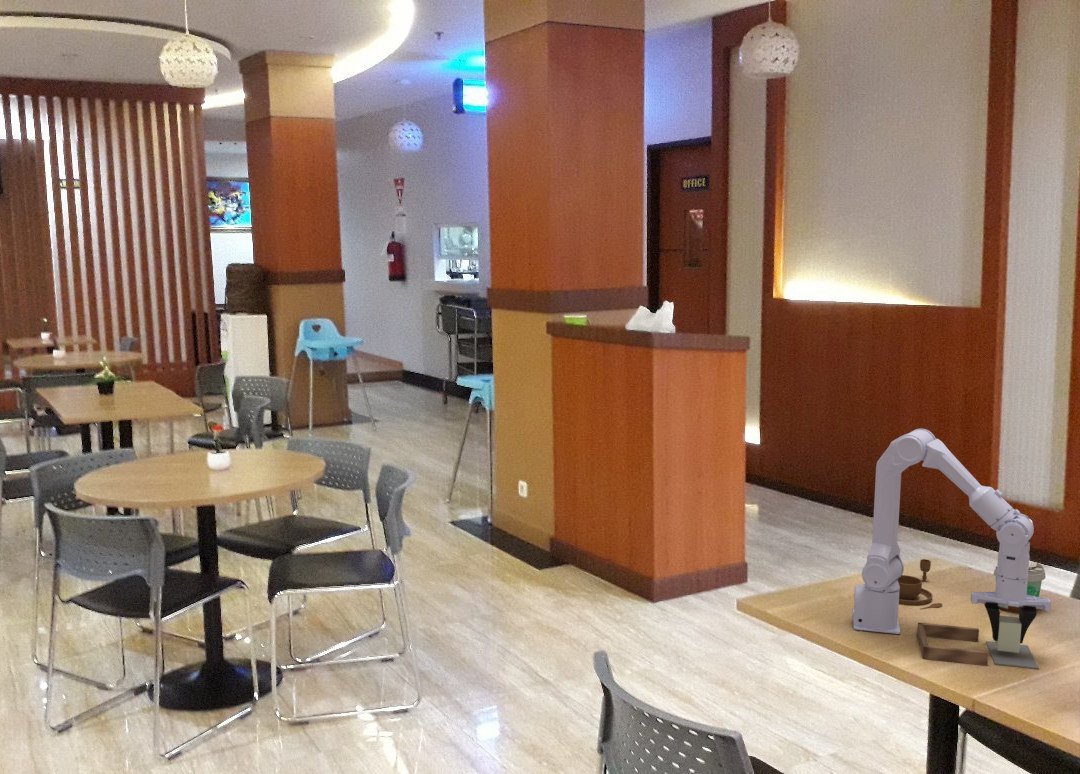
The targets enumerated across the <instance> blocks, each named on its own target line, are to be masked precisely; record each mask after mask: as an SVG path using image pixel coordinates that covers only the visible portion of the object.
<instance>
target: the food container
mask: <svg viewBox="0 0 1080 774" xmlns="http://www.w3.org/2000/svg"><path fill="white" fill-rule="evenodd" d="M992 575H993V576H994V577H996V576H997V566H995V569H994V571H993V574H992ZM1045 579H1046V570H1045V569H1044V565H1043V564H1041V563H1039V562H1036V566H1029V571H1028V583H1027V595H1029V596H1035V597H1040V593H1041V587H1042V581H1043V580H1045ZM998 606H999V611H1003V612H1006V613H1011V614H1018V615H1019V607H1015V606H1004V605H998ZM1037 611H1038V610H1037V609H1036V612H1037Z"/></svg>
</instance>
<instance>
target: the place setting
mask: <svg viewBox="0 0 1080 774" xmlns="http://www.w3.org/2000/svg"><path fill="white" fill-rule="evenodd" d="M931 565H932V561H931V560H930V559H925V558H922V559H920V561H919V569H920V571H921V572H922V577H921V579H922V580H921V579H920V578H918V577H915V576H913V575H906V574H902V575H901V577H900V578H898V583H899V586H900V591H899V605H903V604H904V606H924V605H928V604H929V603H931V602H932V600H933V597H934V596H933V593H932V592H931V591H929V590H928V589H925V588H923V587H922V586H923V585H922V584H923V583H924V582H926V583H927V581H926V580H927V579H928V576H927V573H928V572H930V570H931ZM920 595H922V596H924V597H926V598H927V599H920V600H913V599H915V598H916V597H919V596H920ZM942 606H943V603H941V602H936V603H932V604H930V605H929V606H926V607H921V608H920V610H926V609H931V608H932V609H937V608H940V607H942Z"/></svg>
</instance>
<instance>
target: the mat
mask: <svg viewBox="0 0 1080 774" xmlns="http://www.w3.org/2000/svg"><path fill="white" fill-rule="evenodd" d="M985 643H986V646H987V649H988V651H989V654H990V656H991V658H992V661H993V664H994V666H995V665H996V666H997V665H998V666H1002V667H1003V666H1006V667H1015V668H1022V669H1033V670H1040V667H1039V665H1038V663H1037V661H1036V659H1035V657H1034V654H1033V653H1032V651H1031V649H1030V647H1029V645H1028V644H1020V650H1019V653H1017V652H1007V651H998V650H997V648H996V645H995V641H989V640H985Z"/></svg>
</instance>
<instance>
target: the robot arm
mask: <svg viewBox="0 0 1080 774" xmlns="http://www.w3.org/2000/svg"><path fill="white" fill-rule="evenodd" d="M921 461H922V462H923V463H922V465H921V466H922V467H924V468H929V469H934V470H935V469H936V470H939V471H940V472H941V473H942V474H943V475H945V477H947V478H948V479H949V480H950V481H951V482H952V483H954V485H955V486H956V487H958V488H959V489H960V490H961V491H962V493H964V494H965V495H966V496H968V501H969V503H968V505H969V507H970V508H971V509H972V510H973V512H975V513H976V514H977V515H978V516H979V517H980V518H981V519H982V520H983V521H984V522H985V523H986V524H987V525H988V527H990V528H991V529H992V530H994V531H996V532H995V533H996V539H997V541H998V542H999V547H998V548H999V550H998V552H997V553H998V554H997V563H996V565H997V576H995V591H971V592H970V602H971V604H974V605H978V604H984V607H985V610H986V613H987V616H988V619H989V622H990V627H991V632H992V633H991V634H992V639H993V642H995V641H998V624H999V617H1000V615H1001V610H1000V609H999V606H998V605H1004V606H1015V607H1019V614H1018V618H1019V620H1020V622H1021V637H1020V644H1023V643H1024V638H1025V636H1026V633H1027V631H1028V630H1029V627H1030V626H1031V624H1032V622H1033V621H1034V620H1035V618H1037V614H1038V613H1037V611H1036V609H1040V610H1043V611H1047V612H1050V611H1051V606H1052V602H1051V600H1050V599H1049V598H1046V597H1040V596H1039V597H1035V596H1029V595H1027V583H1028V571H1029V567H1030V557H1031V556H1030V550H1031V549H1030V548H1031V547H1030V546H1031V545H1030V544H1031V542H1030V541H1029V540H1031V538H1032V537H1033V535H1034V530H1035V528H1034V524H1033V522H1032V521H1031V520H1030V517H1029V516H1028V515H1026V514H1024V513H1021V512H1020V510H1018V509H1017V508H1015V509H1014V508H1013V506H1011V505H1010V504H1009V502H1007V501H1006V500H1005V499H1004V498H1003V497H1002V495H1003V492H1002V491H1001V490H999V489H996V490H995V489H994V488H993V487H992V486H985V485H981V484H980V483H979V481H978V480H977V479H976V478H975V477H974V476H973V474H971V472H969V470H968V469H967V468H966V467H965V466H964V465H963V464H962V463H961V461H959V459H958V458H956V456H955V455H954V454H953V453H952V451H950V450H949V449H948V447H947V446H946V444H944V442H943V441H942V440H940V439H939V438H936V437H935V434H933V432H931V431H930V430H929V429H925V428H917V429H914V430H912V431H910V432H908V433H905V434H903V435H901V436H898V437H897V438H896V439H894V440H892V441H891V442H890V444H889V446H888V447H887V449H886V450H885V451H884V452H883V453H882V455H881V456H880V458H879V459H878V460H877V462H876V465H875V466H876V467H875V480H874V481H875V482H874V483H875V484H874V485H875V487H874V499H873V500H874V502H873V503H874V504H873V505H874V506H873V521H872V522H873V523H872V543H871V545H870V548H869V550H868V552H867V556H866V563H865V564H864V566H863V567H862V571H861V577H862V581H863V582H864V584H863V583H862V584H855V585H854V594H853V609H852V610H851V618H852V621H853V629H854V630H856V631H857V630H858V631H865V632H874V633H875V632H876V633H885V634H896V635H900V634H901V628H900V623H899V622H900V621H899V619H898V618H899V605H900V604H899V599H900V598H899V591H900V586H899V583H898V578H900V577H901V575H904V574H903V573H904V569H905V566H904V562H903V560H902V558H901V548H900V546H899V543H898V541H899V540H898V539H899V522H900V521H899V520H900V505H901V503H900V502H901V485H902V473H903V472H904V471H905V470H907V468H909V467H910V466H914V465H916V464H919V463H920V462H921Z"/></svg>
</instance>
